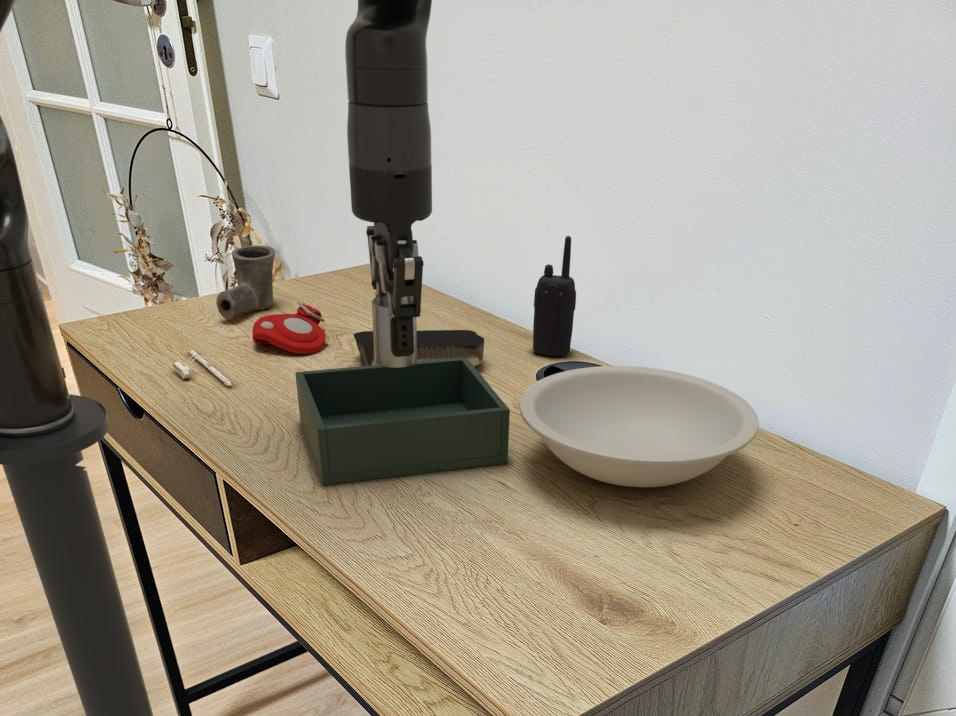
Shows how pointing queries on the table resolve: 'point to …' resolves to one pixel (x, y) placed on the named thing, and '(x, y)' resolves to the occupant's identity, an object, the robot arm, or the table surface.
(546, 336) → the two-way radio
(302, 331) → the tracker holder
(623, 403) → the soup bowl
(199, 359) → the picture light
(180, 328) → the table surface
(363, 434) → the bin
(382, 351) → the metal cylinder
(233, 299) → the pipe
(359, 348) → the bristle scrub brush
